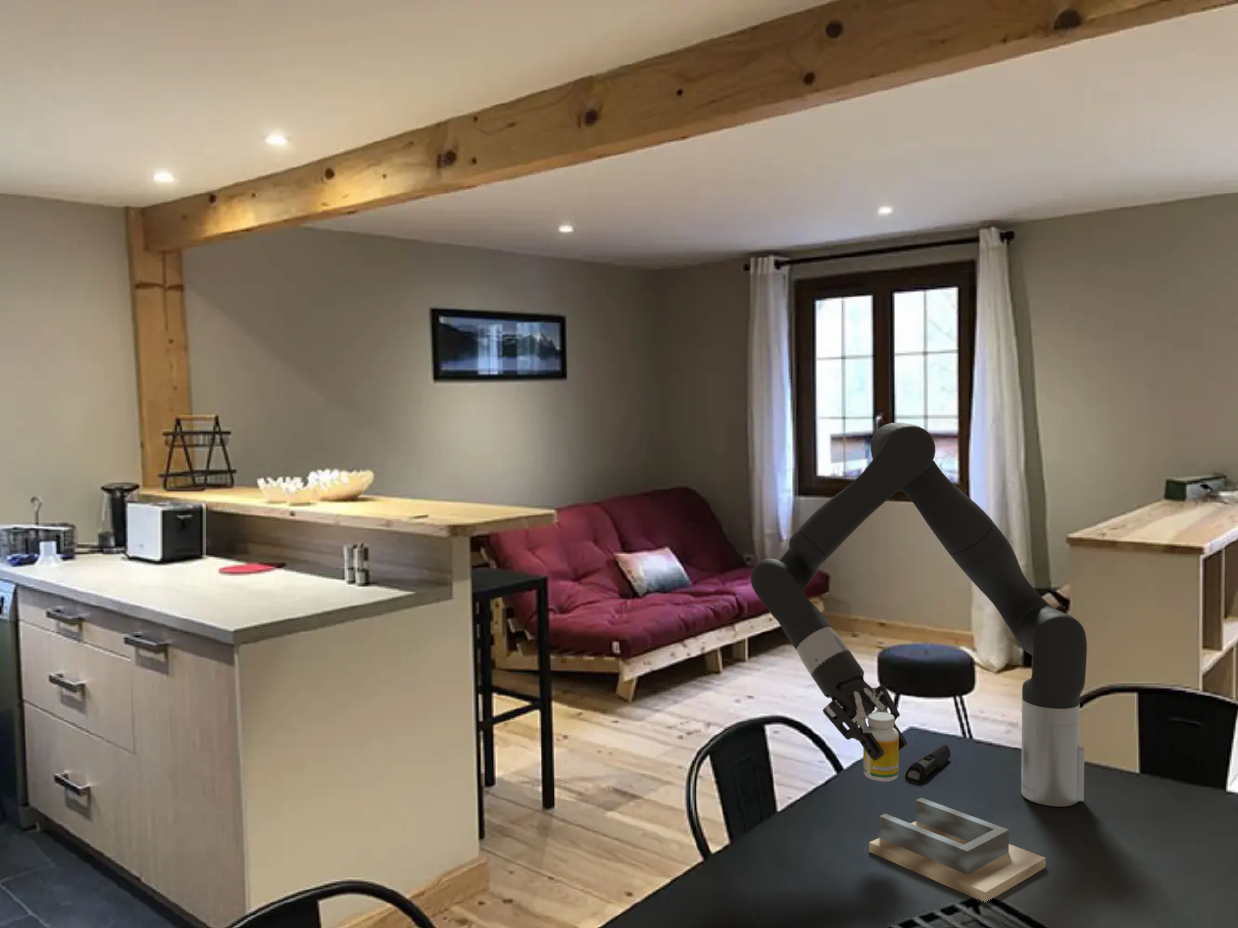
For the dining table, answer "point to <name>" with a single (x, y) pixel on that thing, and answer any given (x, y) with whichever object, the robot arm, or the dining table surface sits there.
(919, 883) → the dining table surface
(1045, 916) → the dining table surface
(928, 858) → the tray
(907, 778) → the electric trimmer
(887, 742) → the supplement bottle
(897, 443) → the robot arm
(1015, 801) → the dining table surface
